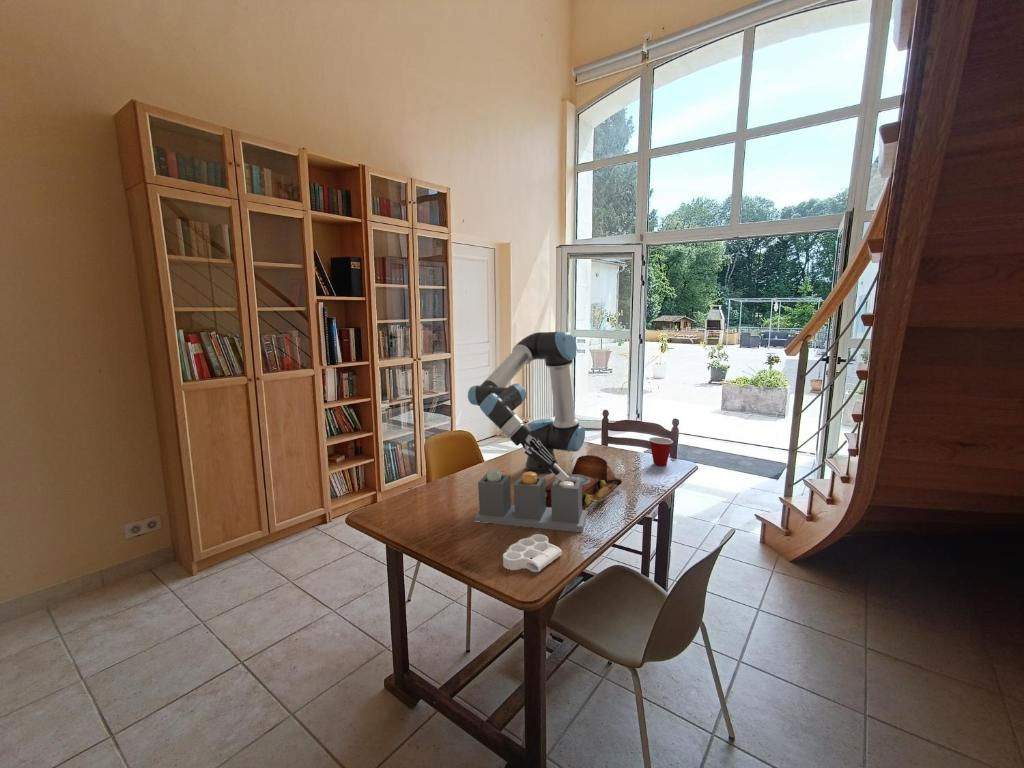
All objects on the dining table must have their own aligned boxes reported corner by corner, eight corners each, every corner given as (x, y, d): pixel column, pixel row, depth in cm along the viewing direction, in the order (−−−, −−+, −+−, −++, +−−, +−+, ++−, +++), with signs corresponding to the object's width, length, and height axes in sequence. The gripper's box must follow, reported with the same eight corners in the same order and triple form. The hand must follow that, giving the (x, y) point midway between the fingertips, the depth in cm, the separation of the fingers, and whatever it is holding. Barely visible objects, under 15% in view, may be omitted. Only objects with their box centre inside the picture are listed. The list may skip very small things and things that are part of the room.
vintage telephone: (630, 455, 192) (590, 486, 159) (630, 483, 193) (590, 519, 161) (577, 448, 205) (530, 475, 173) (577, 474, 207) (531, 506, 174)
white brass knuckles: (532, 580, 125) (492, 563, 134) (568, 553, 138) (530, 539, 148) (531, 569, 124) (491, 553, 134) (568, 542, 138) (529, 530, 147)
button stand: (474, 522, 161) (472, 484, 159) (486, 507, 173) (484, 471, 171) (582, 532, 150) (581, 491, 149) (587, 515, 163) (586, 477, 161)
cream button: (558, 497, 155) (558, 485, 155) (560, 491, 160) (560, 480, 159) (573, 498, 154) (572, 486, 153) (575, 492, 159) (575, 481, 158)
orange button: (521, 487, 159) (520, 476, 158) (524, 482, 163) (524, 471, 163) (535, 488, 157) (534, 476, 157) (538, 483, 162) (537, 472, 161)
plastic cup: (676, 467, 210) (676, 442, 208) (652, 468, 210) (652, 442, 208) (668, 460, 220) (668, 436, 219) (645, 461, 221) (646, 436, 219)
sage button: (485, 484, 162) (485, 474, 162) (490, 480, 167) (489, 469, 166) (499, 485, 161) (498, 474, 160) (503, 480, 165) (502, 470, 165)
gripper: (514, 433, 166) (561, 479, 164) (504, 442, 153) (554, 493, 151) (528, 419, 164) (576, 466, 161) (518, 427, 151) (570, 479, 149)
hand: (565, 479), depth 156 cm, fingers closed
